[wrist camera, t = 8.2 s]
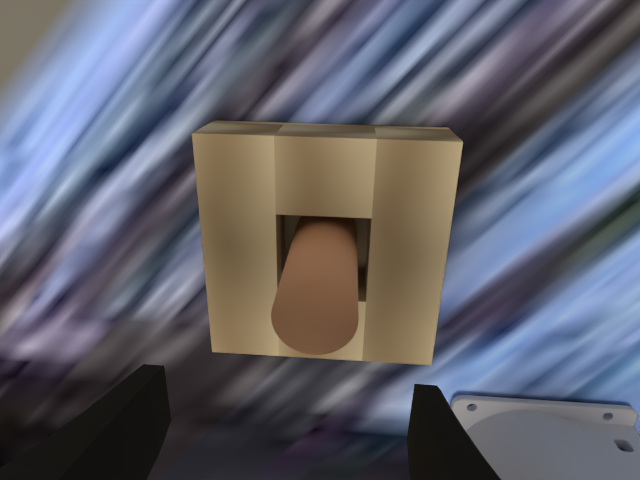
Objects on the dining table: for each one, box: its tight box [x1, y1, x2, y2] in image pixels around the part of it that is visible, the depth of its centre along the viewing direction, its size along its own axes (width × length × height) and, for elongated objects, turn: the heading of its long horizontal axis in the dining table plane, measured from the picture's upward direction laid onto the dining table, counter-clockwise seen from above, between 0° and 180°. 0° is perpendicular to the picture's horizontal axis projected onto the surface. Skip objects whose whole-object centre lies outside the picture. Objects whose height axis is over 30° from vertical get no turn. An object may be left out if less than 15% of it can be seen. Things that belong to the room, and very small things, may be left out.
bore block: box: [192, 120, 463, 365], centre depth 20 cm, size 10×10×3 cm
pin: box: [271, 216, 359, 355], centre depth 18 cm, size 3×3×7 cm
